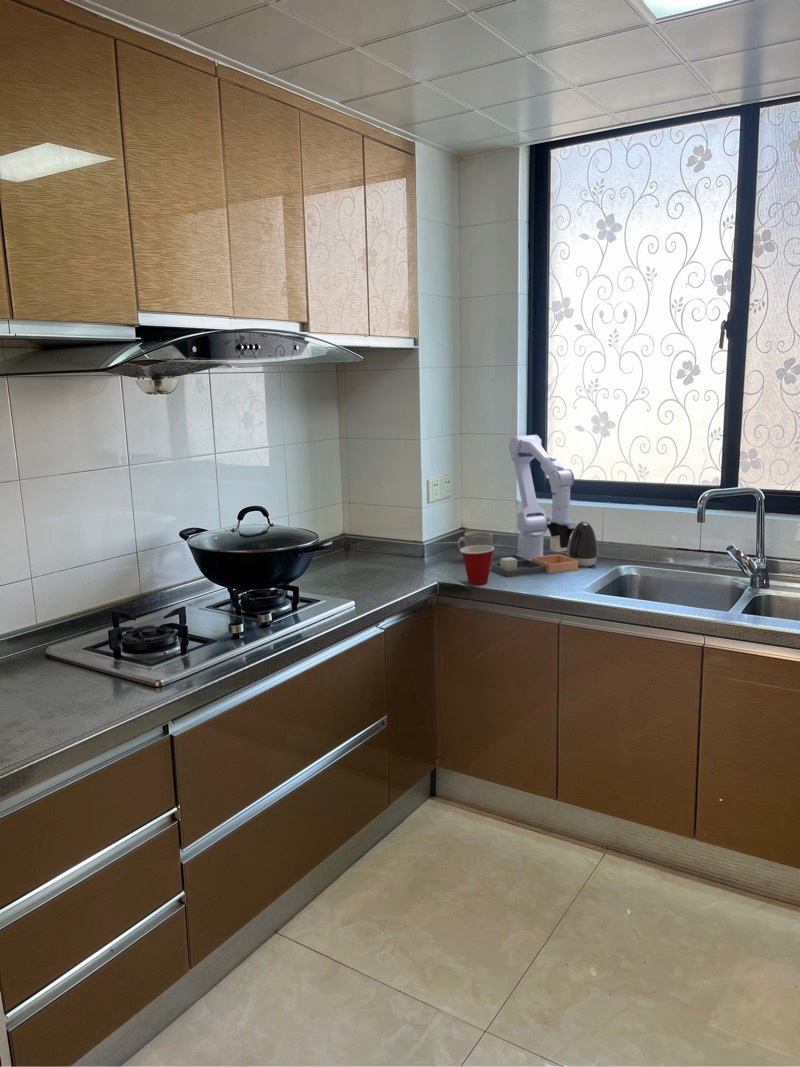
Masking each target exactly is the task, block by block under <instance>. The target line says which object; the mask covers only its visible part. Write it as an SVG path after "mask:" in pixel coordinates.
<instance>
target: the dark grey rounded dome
mask: <svg viewBox="0 0 800 1067" xmlns="http://www.w3.org/2000/svg"><path fill="white" fill-rule="evenodd" d="M595 533H596V532H595V531H594V529H593V527H592V525H591V524H590V523H588V522H587V521H580V522H579V523H576V528H574V531H573V532H572V534H571V536H570V538H569V542H568V546H567V557H568V558H571V559H574V560H577V561H578V567H585V568H588V567H592V566H593V565H594V564H595V563H596V562H597V559H598V557H599V547H598V541H597V537H596V534H595Z"/></svg>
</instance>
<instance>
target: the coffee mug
mask: <svg viewBox="0 0 800 1067" xmlns="http://www.w3.org/2000/svg"><path fill="white" fill-rule="evenodd" d="M493 536H494V534H493V532H491V531H482V530H481V531H480V530H475V531H467V532H465V533H464V535H463V536H461V537H459V539H458V540H457V549H458V550H459V552H460V553H461V554H462V552H461V551H460V549H462V548H464V547H468V546H474V545H490V546H494V543H493V542H494V539H493V538H494V537H493ZM463 544H464V545H463ZM463 546H464V547H463ZM493 554H494V553H493ZM493 554H492V559H491V563H492V562H493V560H494V559H493V558H494V555H493Z"/></svg>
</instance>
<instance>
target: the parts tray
mask: <svg viewBox="0 0 800 1067" xmlns="http://www.w3.org/2000/svg"><path fill="white" fill-rule="evenodd" d="M490 570H491V571H493V572H495V573H497V574H499V575H502V576H504V577H507V578H512V577H520V576H527V575H528V576H529V575H537V574H542V573H543V574H545V573H546V572H545V566H543V565H540V564H538V563H535V562H533V561H531V560H528V559H520V560H519V559H517V570H509V571H508V570H506V569H504V568H501V567H500V562H494V563H491V565H490Z"/></svg>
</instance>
